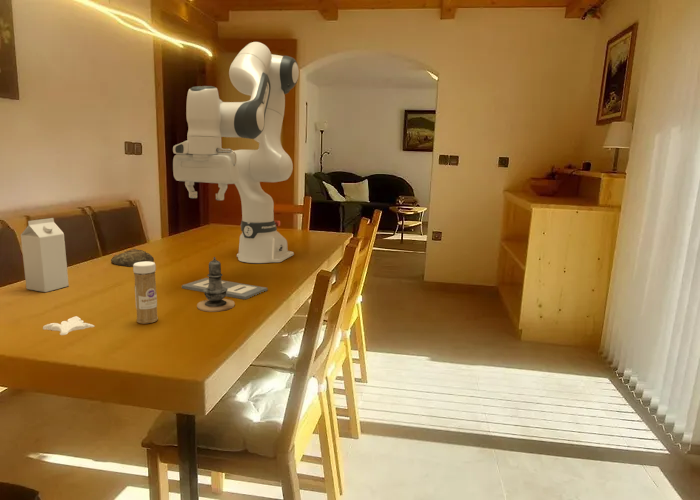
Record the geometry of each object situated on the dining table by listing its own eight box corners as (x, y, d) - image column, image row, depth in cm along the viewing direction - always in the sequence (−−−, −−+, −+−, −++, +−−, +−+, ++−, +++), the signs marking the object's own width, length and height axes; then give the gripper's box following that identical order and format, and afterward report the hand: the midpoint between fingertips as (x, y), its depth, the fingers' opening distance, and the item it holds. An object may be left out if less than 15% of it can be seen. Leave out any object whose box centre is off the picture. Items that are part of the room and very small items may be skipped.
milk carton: (26, 289, 130) (18, 220, 126) (50, 283, 137) (44, 217, 133) (45, 292, 128) (38, 222, 124) (68, 286, 134) (62, 218, 130)
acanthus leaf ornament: (42, 332, 102) (42, 323, 102) (74, 323, 108) (73, 315, 108) (63, 338, 99) (63, 329, 98) (95, 328, 105) (94, 320, 104)
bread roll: (126, 269, 157) (125, 254, 156) (106, 263, 164) (105, 249, 163) (161, 262, 167) (160, 248, 166) (140, 257, 174) (139, 244, 173)
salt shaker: (221, 308, 117) (219, 260, 115) (199, 305, 118) (197, 258, 116) (232, 301, 123) (231, 255, 120) (211, 299, 124) (209, 253, 122)
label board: (206, 280, 144) (206, 276, 144) (267, 290, 135) (267, 286, 135) (181, 288, 135) (181, 284, 135) (245, 299, 126) (245, 295, 126)
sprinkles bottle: (147, 325, 106) (144, 266, 103) (131, 322, 107) (128, 263, 105) (162, 319, 110) (159, 262, 107) (147, 316, 112) (144, 259, 109)
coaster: (214, 298, 126) (213, 296, 126) (241, 303, 123) (241, 301, 122) (189, 308, 118) (189, 305, 118) (218, 313, 115) (218, 311, 114)
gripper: (243, 148, 129) (244, 200, 131) (184, 147, 137) (186, 196, 140) (228, 148, 123) (229, 202, 126) (168, 146, 131) (170, 197, 134)
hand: (206, 199), depth 133 cm, fingers open, 8 cm apart
